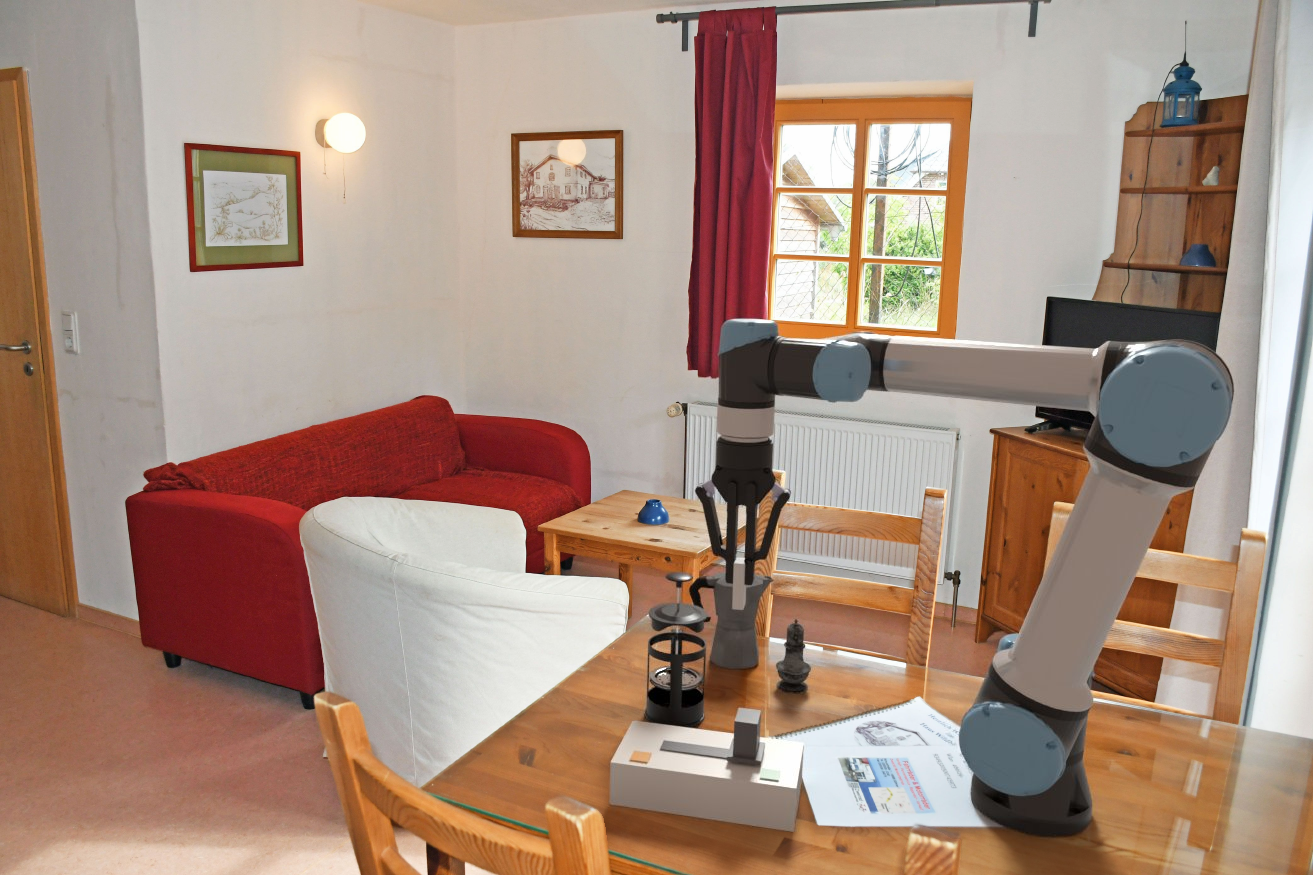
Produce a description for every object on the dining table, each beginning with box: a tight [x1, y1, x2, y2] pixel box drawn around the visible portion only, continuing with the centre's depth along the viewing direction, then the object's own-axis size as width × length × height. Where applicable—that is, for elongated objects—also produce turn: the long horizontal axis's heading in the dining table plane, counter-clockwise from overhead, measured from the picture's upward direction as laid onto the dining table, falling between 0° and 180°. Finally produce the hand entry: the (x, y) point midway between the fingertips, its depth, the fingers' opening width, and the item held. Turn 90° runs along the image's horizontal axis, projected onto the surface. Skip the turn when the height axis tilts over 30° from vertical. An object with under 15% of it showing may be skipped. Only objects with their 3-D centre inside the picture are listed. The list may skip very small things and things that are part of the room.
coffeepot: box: [688, 570, 775, 670], centre depth 176 cm, size 15×9×18 cm, turn 104°
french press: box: [644, 571, 708, 728], centre depth 154 cm, size 12×9×23 cm
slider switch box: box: [609, 720, 805, 833], centre depth 133 cm, size 24×12×6 cm, turn 77°
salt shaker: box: [775, 618, 812, 695], centre depth 166 cm, size 6×6×12 cm
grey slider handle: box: [727, 707, 765, 765], centre depth 131 cm, size 4×5×5 cm
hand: (738, 605), depth 136 cm, fingers closed
